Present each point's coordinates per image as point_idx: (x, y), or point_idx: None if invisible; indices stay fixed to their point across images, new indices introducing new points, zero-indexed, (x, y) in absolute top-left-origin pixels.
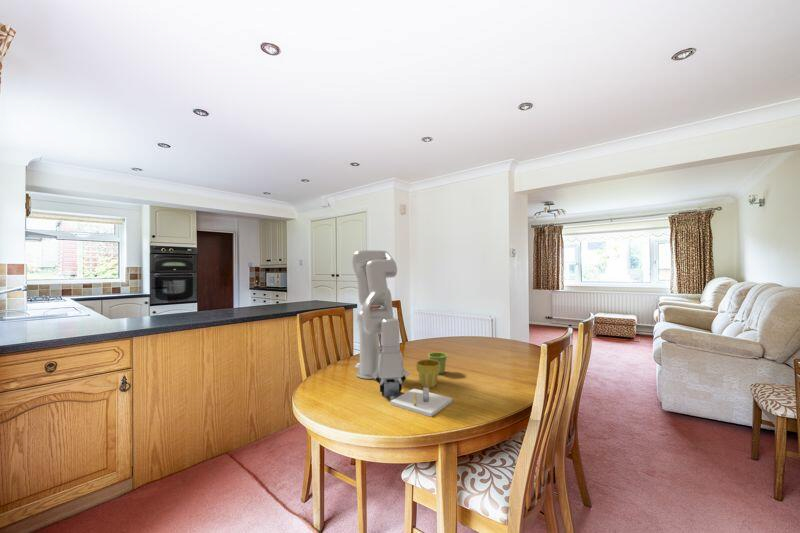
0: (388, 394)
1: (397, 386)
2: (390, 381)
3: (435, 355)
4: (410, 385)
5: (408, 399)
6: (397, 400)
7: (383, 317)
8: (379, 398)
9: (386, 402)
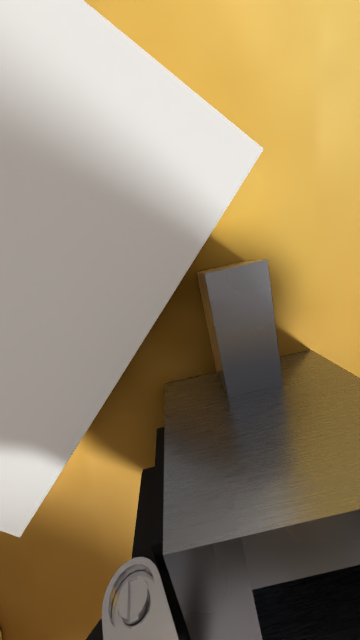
0: (282, 372)
1: (190, 468)
2: (318, 613)
3: None
4: (89, 603)
5: (14, 218)
6: (164, 177)
7: None
8: (357, 324)
9: (289, 223)
